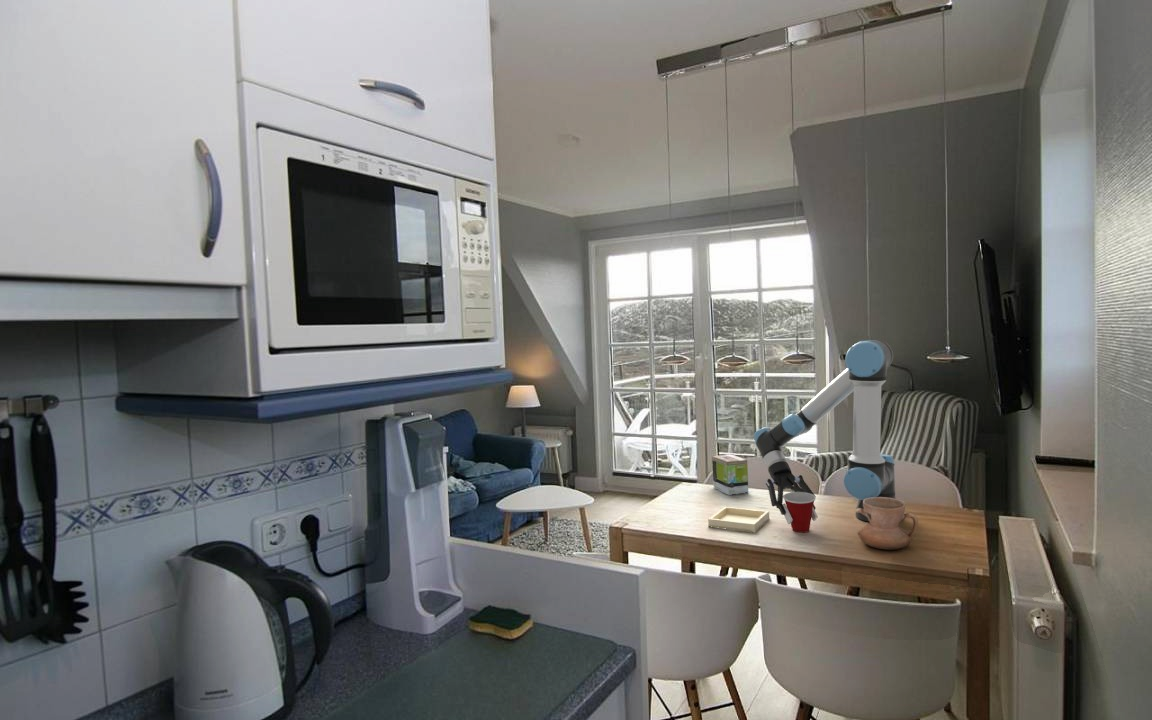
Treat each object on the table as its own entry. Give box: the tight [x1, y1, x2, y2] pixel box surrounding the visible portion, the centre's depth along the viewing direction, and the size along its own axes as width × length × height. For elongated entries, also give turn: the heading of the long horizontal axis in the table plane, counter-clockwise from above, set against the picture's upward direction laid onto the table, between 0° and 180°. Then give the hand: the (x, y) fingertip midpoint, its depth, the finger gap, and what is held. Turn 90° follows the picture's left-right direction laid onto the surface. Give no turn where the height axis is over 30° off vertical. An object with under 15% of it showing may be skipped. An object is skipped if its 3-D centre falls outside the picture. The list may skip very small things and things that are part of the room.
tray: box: [707, 506, 770, 534], centre depth 235 cm, size 17×17×3 cm
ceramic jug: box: [854, 497, 919, 551], centre depth 203 cm, size 18×14×14 cm
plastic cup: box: [783, 491, 817, 533], centre depth 223 cm, size 11×11×12 cm
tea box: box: [711, 453, 749, 496], centre depth 281 cm, size 15×10×15 cm, turn 13°
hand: (803, 520), depth 221 cm, fingers closed on plastic cup, 9 cm apart
